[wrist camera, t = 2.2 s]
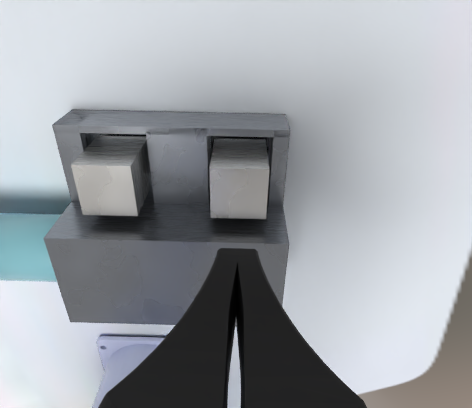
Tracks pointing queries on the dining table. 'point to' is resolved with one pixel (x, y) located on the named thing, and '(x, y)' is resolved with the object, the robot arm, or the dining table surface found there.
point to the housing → (161, 218)
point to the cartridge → (25, 247)
